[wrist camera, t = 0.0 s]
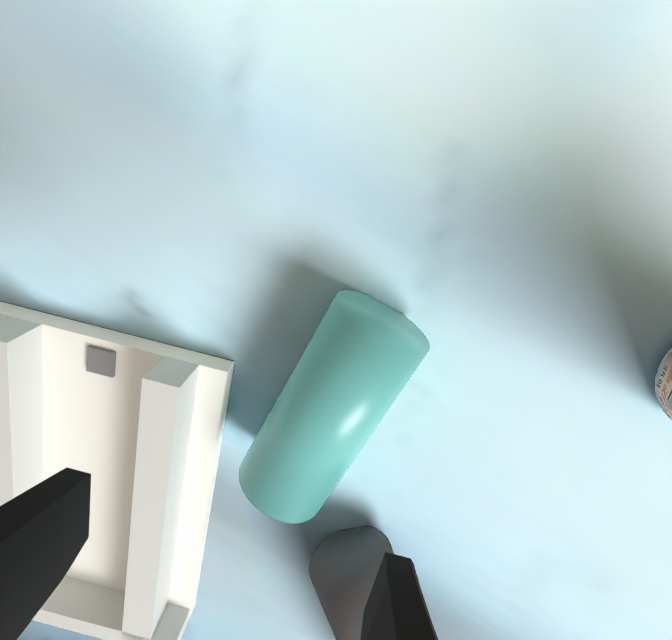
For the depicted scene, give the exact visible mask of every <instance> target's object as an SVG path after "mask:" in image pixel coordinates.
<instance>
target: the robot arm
mask: <svg viewBox="0 0 672 640" xmlns="http://www.w3.org/2000/svg"><path fill="white" fill-rule="evenodd" d="M90 492H91V474H90V473H86V472H82V471H79V470H75V469H71V468H65V469H63V470H61V471H59V472H58V473H56V474H54V475H52V476H51V477H49V478H47V479H45V480H44V481H42V482H40V483H39V484H37V485H35V486H34V487H32V488H30V489H28V490H27V491H25V492H23V493H22V494H20V495H18V496H16V497H15V498H13V499H11V500H10V501H8V502H6V503H4V504H3V505H1V506H0V640H17V638H18V637H19V636H20V634H21V633H22V632H23V631H24V629H25V628H26V627H27V625H28V624H29V623H30V622H31V620H32V619H33V618H34V616H35V615H36V614H37V613H38V611H39V610H40V609H41V607H42V606H43V605H44V603H45V602H46V601H47V599H48V598H49V597H50V596H51V594H52V593H53V592H54V590H55V589H56V588H57V586H58V585H59V584H60V582H61V581H62V580H63V578H64V577H65V575H66V573H67V572H68V570H69V569H70V567H71V565H72V564H73V562H74V561H75V559H76V557H77V556H78V554H79V552H80V551H81V549H82V547H83V546H84V544H85V542H86V541H87V539H88V537H89V518H90ZM360 640H438V638H437V635H436V632H435V630H434V627H433V624H432V621H431V618H430V615H429V612H428V609H427V606H426V603H425V600H424V597H423V594H422V591H421V588H420V584H419V581H418V578H417V574H416V571H415V567H414V563H413V562H412V560H411V559H410V558H406V557H402V556H399V555H395V554H391V553H387V552H385V554H384V557H383V559H382V562H381V565H380V568H379V570H378V573H377V576H376V579H375V581H374V584H373V587H372V589H371V592H370V595H369V598H368V600H367V603H366V606H365V609H364V613H363V621H362V630H361V639H360Z"/></svg>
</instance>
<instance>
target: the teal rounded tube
mask: <svg viewBox="0 0 672 640" xmlns="http://www.w3.org/2000/svg"><path fill="white" fill-rule="evenodd" d="M429 348H430V345H429V342H428V340H427V338H426V336H425V335H424V334H423V332H422V331H421V330H420V329H419V328H418V327H417V326H416V325H415V324H414V323H413V322H412V321H410V320H409V319H408V318H407V317H405V316H404V315H403V314H401V313H400V312H398V311H396V310H395V309H393V308H391V307H389V306H387V305H385V304H384V303H382V302H380V301H378V300H376V299H374V298H373V297H371V296H369V295H366V294H363V293H360V292H357V291H352V290H341V291H339V292H338V293H337V294H336V296H335V298H334V299H333V301H332V303H331V305H330V306H329V308H328V310H327V312H326V314H325V315H324V317H323V319H322V321H321V322H320V324H319V326H318V328H317V330H316V331H315V333H314V335H313V337H312V338H311V340H310V342H309V344H308V346H307V347H306V349H305V351H304V353H303V354H302V356H301V358H300V360H299V362H298V363H297V365H296V367H295V369H294V370H293V372H292V374H291V376H290V378H289V379H288V381H287V383H286V385H285V386H284V388H283V390H282V392H281V394H280V395H279V397H278V399H277V401H276V402H275V404H274V406H273V408H272V410H271V411H270V413H269V415H268V417H267V418H266V420H265V422H264V424H263V426H262V427H261V429H260V431H259V433H258V434H257V436H256V438H255V440H254V442H253V443H252V445H251V447H250V449H249V450H248V452H247V454H246V456H245V457H244V459H243V461H242V463H241V465H240V468H239V481H240V485H241V488H242V490H243V492H244V494H245V495H246V497H247V498H248V500H249V501H250V502H251V503H252V504H253V505H254V506H255V507H256V508H257V509H258V510H259V511H261V512H262V513H264V514H265V515H267V516H269V517H270V518H273V519H275V520H277V521H281V522H285V523H302V522H306V521H308V520H310V519H311V518H313V517H314V516H315V515H316V514H317V513H318V511H319V510H320V508H321V507H322V505H323V504H324V502H325V501H326V499H327V498H328V497H329V495H330V494H331V492H332V491H333V489H334V488H335V486H336V485H337V483H338V482H339V481H340V479H341V478H342V476H343V475H344V473H345V472H346V470H347V469H348V467H349V466H350V464H351V463H352V462H353V460H354V459H355V457H356V456H357V454H358V453H359V451H360V450H361V448H362V447H363V446H364V444H365V443H366V441H367V440H368V438H369V437H370V435H371V434H372V432H373V431H374V429H375V428H376V427H377V425H378V424H379V422H380V421H381V419H382V418H383V416H384V415H385V413H386V412H387V411H388V409H389V408H390V406H391V405H392V403H393V402H394V400H395V399H396V397H397V396H398V394H399V393H400V392H401V390H402V389H403V387H404V386H405V384H406V383H407V381H408V380H409V378H410V377H411V375H412V374H413V373H414V371H415V370H416V368H417V367H418V365H419V364H420V362H421V361H422V359H423V358H424V357H425V355H426V354H427V352H428V351H429Z"/></svg>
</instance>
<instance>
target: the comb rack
mask: <svg viewBox="0 0 672 640" xmlns="http://www.w3.org/2000/svg"><path fill="white" fill-rule="evenodd" d="M234 363H235V362H234V361H230V360H226V359H222V358H218V357H214V356H210V355H206V354H202V353H199V352H195V351H191V350H187V349H183V348H179V347H175V346H171V345H167V344H164V343H160V342H156V341H152V340H148V339H144V338H140V337H136V336H133V335H129V334H125V333H121V332H117V331H113V330H109V329H105V328H101V327H98V326H94V325H90V324H86V323H82V322H78V321H74V320H70V319H66V318H63V317H59V316H55V315H51V314H47V313H43V312H39V311H35V310H31V309H28V308H24V307H20V306H16V305H12V304H8V303H4V302H0V506H1V505H3V504H4V503H6V502H8V501H10V500H11V499H13V498H15V497H16V496H18V495H20V494H22V493H23V492H25V491H27V490H28V489H30V488H32V487H34V486H35V485H37V484H39V483H40V482H42V481H44V480H45V479H47V478H49V477H51V476H52V475H54V474H56V473H58V472H59V471H61V470H63V469H65V468H71V469H75V470H79V471H82V472H86V473H90V474H91V492H90V518H89V537H88V539H87V541H86V542H85V544H84V546H83V547H82V549H81V551H80V552H79V554H78V556H77V557H76V559H75V561H74V562H73V564H72V565H71V567H70V569H69V570H68V572H67V573H66V575H65V577H64V578H63V580H62V581H61V582H60V584H59V585H58V586H57V588H56V589H55V590H54V592H53V593H52V594H51V596H50V597H49V598H48V599H47V601H46V602H45V603H44V605H43V606H42V607H41V609H40V610H39V611H38V613H37V614H36V615H35V616H34V618H33V619H32V620H33V621H37V622H41V623H44V624H48V625H52V626H55V627H59V628H63V629H66V630H70V631H74V632H77V633H81V634H85V635H89V636H92V637H96V638H100V639H103V640H180V639H181V637H182V635H183V632H184V630H185V627H186V625H187V623H188V620H189V618H190V616H191V613H192V611H193V609H194V606H195V602H196V596H197V590H198V584H199V578H200V572H201V565H202V559H203V553H204V547H205V541H206V535H207V529H208V522H209V516H210V510H211V504H212V498H213V492H214V486H215V479H216V473H217V467H218V461H219V455H220V449H221V443H222V436H223V430H224V424H225V418H226V412H227V406H228V400H229V393H230V387H231V381H232V375H233V369H234Z"/></svg>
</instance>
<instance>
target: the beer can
mask: <svg viewBox="0 0 672 640" xmlns="http://www.w3.org/2000/svg"><path fill="white" fill-rule="evenodd" d="M655 394H656V397H657V401H658V403H659V404H660V406H661V408H662V409H663V411H664V412H665V414H666V415H667V416H668V417H669V418H670V419H671V420H672V348H671V349H670V350H669V351H668V352H667V354H666V355H665V357H664V358H663V359H662V361H661V363H660V366H659V368H658V371H657V374H656V377H655Z"/></svg>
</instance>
